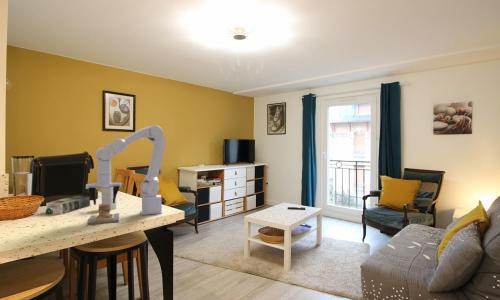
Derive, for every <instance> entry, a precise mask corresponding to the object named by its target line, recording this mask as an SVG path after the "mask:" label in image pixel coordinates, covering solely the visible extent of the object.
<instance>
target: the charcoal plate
mask: <svg viewBox="0 0 500 300" xmlns="http://www.w3.org/2000/svg"><path fill="white" fill-rule="evenodd" d="M119 221H120V213H119V212H117V213H110V218H104V219H99V214H97V215H95V214H94V215H90V216H89V220H88V222H87V225H88V226H92V225H103V224H111V223H112V224H113V223H119Z"/></svg>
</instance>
